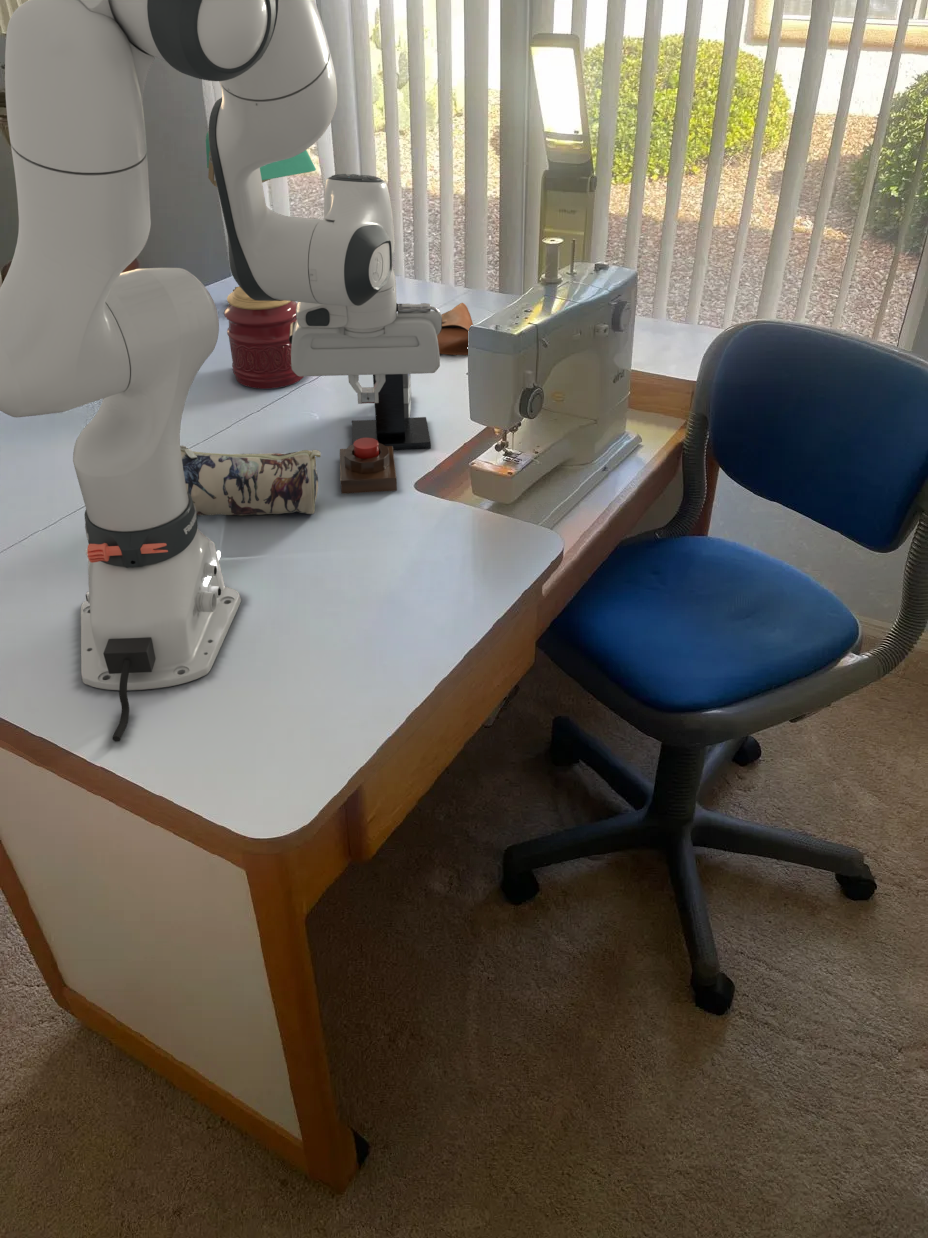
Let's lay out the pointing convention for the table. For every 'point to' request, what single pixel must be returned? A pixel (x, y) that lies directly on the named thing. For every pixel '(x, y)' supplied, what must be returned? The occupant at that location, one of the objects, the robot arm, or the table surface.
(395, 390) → the bracket
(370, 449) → the button
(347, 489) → the control block
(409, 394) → the tape cartridge
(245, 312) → the kitchen canister
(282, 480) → the pencil case
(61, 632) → the table surface
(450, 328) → the sunglasses case
